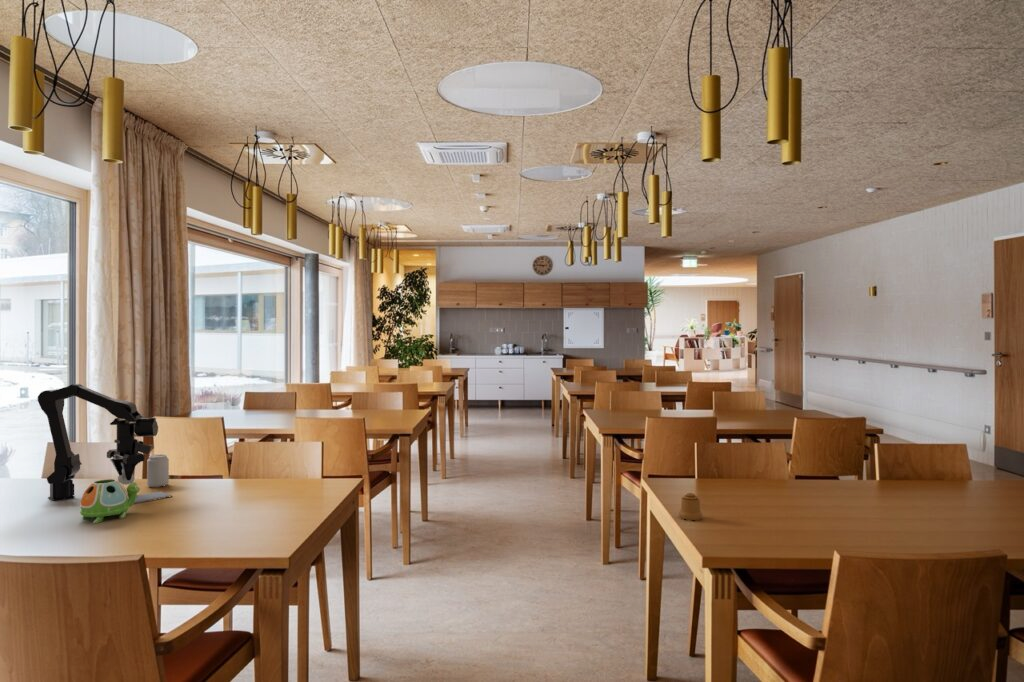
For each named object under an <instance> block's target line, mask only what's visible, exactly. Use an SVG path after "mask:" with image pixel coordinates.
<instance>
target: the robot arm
mask: <svg viewBox="0 0 1024 682" xmlns="http://www.w3.org/2000/svg"><path fill="white" fill-rule="evenodd" d="M71 397H77V398H78V399H81V400H84V401H87V402H89V403H91V404H93V405H96V406H98V407H101V408H103V409H105V410H106V411H107V412H109V413H110V414H111V415H112V416H114V417H116V418H114V419H113V420H112V421H111V422H110V423H109V425H111V426H116V439H114V442H113V443H116V449H115V448H114V449H109V450H107V452H106V458H108V459H109V461H110V462H111V463H112V465H113V467H114V468H115V470H116V472H117V474H118V476H120V475H122V468H123V471H124V474H125V476H126V479H127V480H131V477H132V474H133V475H134V471H135V468H136V466H137V465H138V464H140V463H141V462H145V461H146V456H145V455H150V452H151V450H152V445H148V444H145V443H144V441H141V440H138V439H137V438H136V437H135V435H137V437H156V436H157V434H158V432H159V425H158V422H157V418H156V417H148V418H147V417H143V416H142V414H141V413H140V412H139V411H138V410H137V409H138V407H137V405H136V404H135V403H134V402H132V401H127V400H124V399H117V398H113V397H110V396H108V395H105V394H103V393H100V392H98V391H95V390H94V389H91V388H89V387H87V386H84V385H82V384H81V383H73V384H70V385H68V386H66V387H61V388H58V389H47V390H43V391H41V392H40V393H39V394H38V395H37V402H38V405H39V407H40V409H41V411H43V413H44V414H45V415H46V417H47V420H48V426H49V430H50V434H51V438H52V442H53V447H54V451H55V457H54V462H53V470H54V471H53V472H52V473H51V474H49V475H48V476H47V477H46V481H47V483H48V484H49V496H48V497H47V499H49V500H51V501H53V500H54V501H55V502H56V501H61V500H67V499H73V498H75V497H76V496H75V484H74V481H73V479H74V478H75V476H76V474H77V473H78V472H79V471H80V470H81V465H82V462H81V459H80V454H79V453H77V454H75V453H74V452H73V451H72V448H71V443H70V440H69V435H68V432H67V427H66V423H65V417H64V413H63V411H64V407H65V400H66V399H70V398H71ZM144 454H145V455H144Z"/></svg>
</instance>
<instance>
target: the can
mask: <svg viewBox="0 0 1024 682" xmlns="http://www.w3.org/2000/svg"><path fill="white" fill-rule="evenodd" d="M146 461H147V462H146V485H147V486H148V487H149V488H153V487H156V488H161V487H160V486H163V487H165V486H164V485H166V486H167V485H168V484H169V481H170V477H169V476H170V475H169V474H170V472H169V470H170V467H169V466H170V464H169V461H170V459H169V457H168V455H167V454H164V453H163V454H152V455H149V456H148V459H147V460H146Z"/></svg>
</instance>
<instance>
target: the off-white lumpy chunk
mask: <svg viewBox="0 0 1024 682" xmlns="http://www.w3.org/2000/svg"><path fill="white" fill-rule="evenodd" d="M117 480H118V482H119V483H121V484H122V485H125V486H127V485H129V484H131V483H135V482H134V481H135V475H134V473H133V474H132V477H131V480H127V479H126V476H125V474H124V471H123V468H122V475H120V476H119V475H118V476H117Z"/></svg>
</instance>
